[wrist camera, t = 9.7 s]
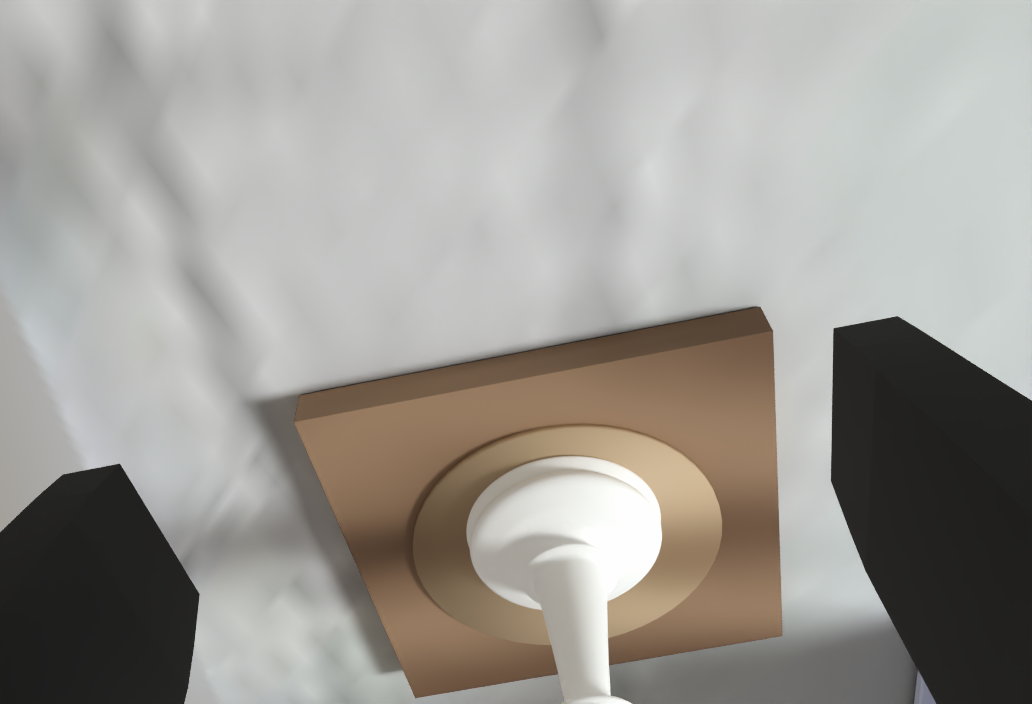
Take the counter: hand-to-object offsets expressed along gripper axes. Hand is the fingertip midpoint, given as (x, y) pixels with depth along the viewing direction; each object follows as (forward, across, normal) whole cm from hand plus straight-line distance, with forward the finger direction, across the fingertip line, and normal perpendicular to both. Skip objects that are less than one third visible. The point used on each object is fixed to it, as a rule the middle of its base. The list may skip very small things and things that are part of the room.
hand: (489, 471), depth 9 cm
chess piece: (+9, 0, +11) cm, 14 cm away
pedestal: (+10, 0, +12) cm, 16 cm away
